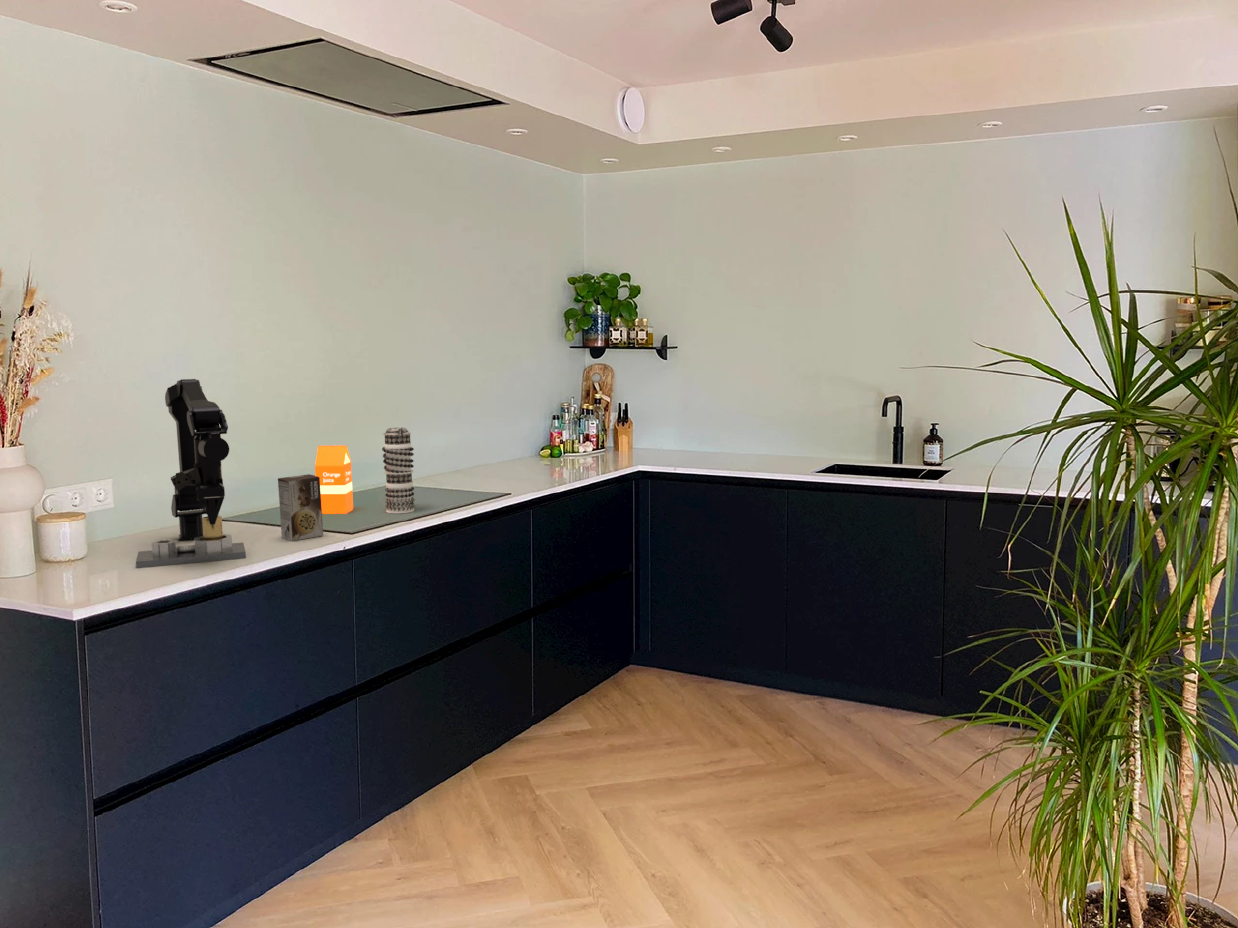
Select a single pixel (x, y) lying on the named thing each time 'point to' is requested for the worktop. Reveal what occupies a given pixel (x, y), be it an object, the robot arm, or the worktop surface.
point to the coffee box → (300, 507)
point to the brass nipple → (212, 529)
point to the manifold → (190, 552)
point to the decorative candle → (398, 471)
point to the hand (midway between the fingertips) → (212, 521)
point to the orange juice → (334, 479)
